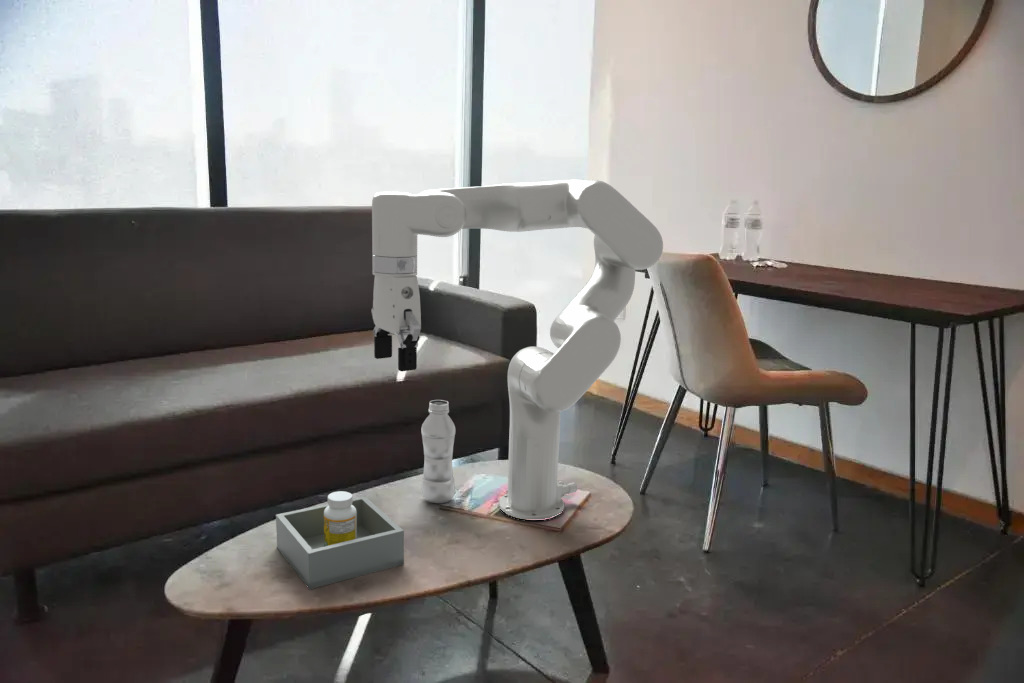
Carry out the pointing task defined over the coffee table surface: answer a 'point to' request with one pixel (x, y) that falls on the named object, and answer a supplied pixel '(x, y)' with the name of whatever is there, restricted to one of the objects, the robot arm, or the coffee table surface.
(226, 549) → the coffee table surface
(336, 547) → the tote
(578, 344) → the robot arm
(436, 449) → the plastic bottle
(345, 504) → the supplement bottle
